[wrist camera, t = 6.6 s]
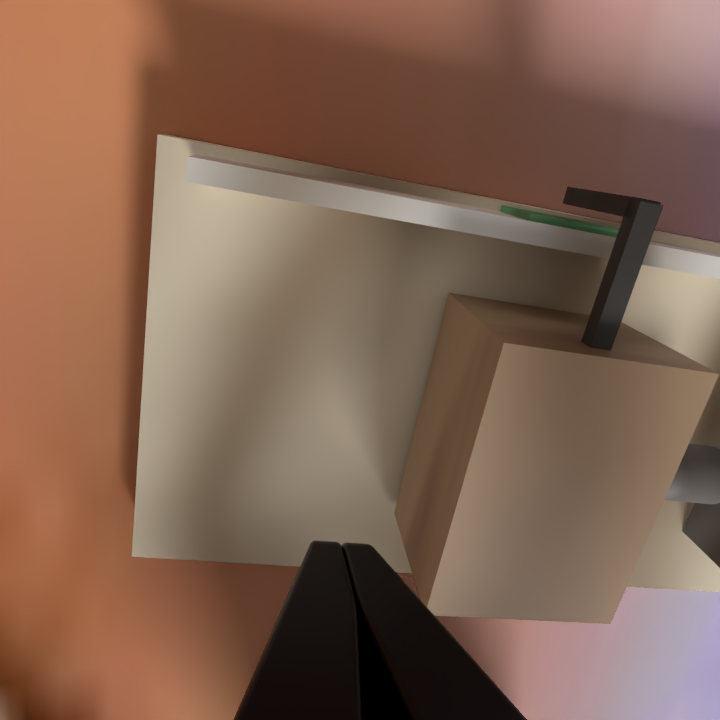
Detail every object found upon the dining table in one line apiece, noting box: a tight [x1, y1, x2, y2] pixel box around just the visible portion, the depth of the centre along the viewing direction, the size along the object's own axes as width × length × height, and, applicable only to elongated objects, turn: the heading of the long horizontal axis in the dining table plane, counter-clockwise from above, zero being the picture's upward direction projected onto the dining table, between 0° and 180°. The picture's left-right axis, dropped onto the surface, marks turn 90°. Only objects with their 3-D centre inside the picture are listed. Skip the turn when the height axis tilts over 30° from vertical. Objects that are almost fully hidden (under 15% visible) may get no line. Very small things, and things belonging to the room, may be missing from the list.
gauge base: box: [132, 134, 720, 592], centre depth 16 cm, size 22×12×5 cm, turn 79°
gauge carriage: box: [394, 187, 720, 624], centre depth 14 cm, size 8×10×4 cm
